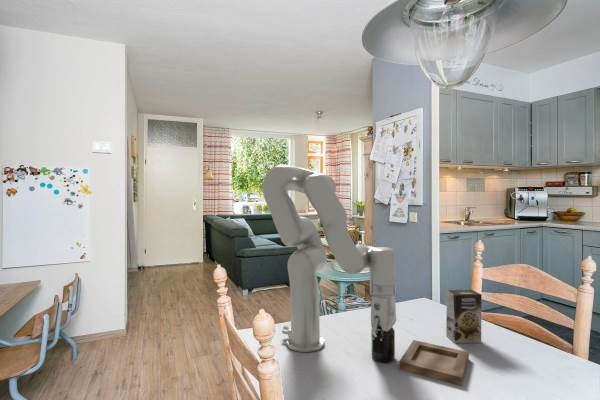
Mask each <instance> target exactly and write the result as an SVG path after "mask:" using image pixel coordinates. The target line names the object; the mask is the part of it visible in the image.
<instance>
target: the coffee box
mask: <svg viewBox="0 0 600 400" xmlns="http://www.w3.org/2000/svg"><path fill="white" fill-rule="evenodd" d="M482 296H483V295H482V294H481V293H479V292H477V291H475V290H473V289H446V319H445V320H446V321H445V322H446V337H447V338H449V340H450V341H451V342H453V344H481V343H482Z"/></svg>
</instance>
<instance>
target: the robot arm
mask: <svg viewBox="0 0 600 400" xmlns="http://www.w3.org/2000/svg"><path fill="white" fill-rule="evenodd" d="M261 189H262V195H263V197H264V200H265V203H266V205H267V208H268V210H269V212H270V215H271V217H272V220H273V223H274V226H275V228H276V230H277V231H276V232H277V233H278V236H279V238H280V241H281V242H282V243H283V244H284V245H285V246H287V247H290V248H291V247H296V248H297V250H295V251H294V252H292V253H291V255H290V256H289V258H288V261H287V273H288V281H289V289H290V290H289V292H290V293H289V295H290V298H289V299H290V326H289V325H283V327H282V331H281V333H282V334H284V335H287V336H288V337H287V338H286V341H285V342H286V346H287V347H288V348H289V350H292V351H295V352H300V353H310V352H311V353H312V352H315V351H319V350H320V349H322V348H323V347H324V346H325V345H326V344H325V342H326V341H325V338H324V337H323V336H322V335H320V332H321V331H320V330H321V329H320V323H321V322H320V320H321V319H320V286H319V281H318V274H317V273H319V272H321V270H323V269H324V268H325V267H326V265H327V261H328V255H327V251H326V248H325V245H324V244H323V241H322V239H321V236H320V235H319V231H318V229H317V227H316V225H315V224H314V222H313V221H312V220H311V219H310V218H308V217H306V216H300V215H299V213H298V211H297V208H296V205H295V203H294V201H293V200H292V198H291V197H290V195H289V193H288V191H293V192H294V191H295V192H298V193H302V194H304V195H305V196H306V198H307V200H308V201H309V203H310V205H311V206H312V208H313V210H314V213H316V215H317V217H318V219H319V220H320V222H321V223H320V224H322V227H323V233H324V236H325V239H326V243H327V245H328V248H329V250H330V252H331V254H332V256H333V257H334V259H335V261H336V262H337V264H338V265H339V267H340V269H342V271H343V272H345V273H346V274H348V275H352V276H353V275H358V274H360V273H361V272H362V271H364V270H365V269H369V294H370V295H371V304H370V327H371V329H372V334H373V351H374V352H376V353H380V354H384V340H383V336H384V331H385V332H387V331H389V330H390V329H391V327H392V328H393V326H394V325H395V324H396V322H397V309H396V305H397V304H396V294H397V292H396V290H397V288H396V287H397V286H396V285H397V284H396V251H395V249H393V248H391V247H388V246H376V247H375V246H369V245H364V244H355V242H354V240H353V238H352V237H351V234H350V232H349V229H348V225H347V224H348V222H347V221H348V220H347V219H348V217H347V216H348V214H347V211H346V209H345V207H344V206H343V204H342V202H341V201H340V199H339V197H338V196H337V194H336V190H337V185H336V182H335V180H334V179H333V177H331V176H330V175H328V174H324V173H320V172H318V171H313V170H310V169H306V168H303V167H300V166H293V165H288V164H287V165H286V164H279V165H274V166H273V167H271V168H270V169H269V170H268V171H267V172H266V173H265V175H264V177H263V181H262V188H261ZM378 327H381V328H382V329H379V328H378ZM393 329H394V328H393ZM378 331H381V336H380V334H379V333H378Z"/></svg>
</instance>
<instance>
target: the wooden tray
mask: <svg viewBox="0 0 600 400" xmlns="http://www.w3.org/2000/svg"><path fill="white" fill-rule="evenodd" d="M469 357H470V352H469V351H467V350H461V349H457V348H452V347H448V346H443V345H438V344H434V343H430V342H429V343H428V342H426V341H425V342H424V341H419V340H416V339H413V340H412V342H411V343H410V345H409V346H408V347H407V349H406V350H405V352H404V354H403V355H402V356H401V358H400V360H399V361H398V369H399V370H401V371H405V372H408V373H412V374H416V375H420V376H423V377H427V378H431V379H435V380H439V381H442V382H445V383H446V382H447V383H449V384H454V385H457V386H460V385H461V387H462V386H463V382H464V378H465V374H466V370H467V367H468V364H469V360H470V359H469Z"/></svg>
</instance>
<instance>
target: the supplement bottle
mask: <svg viewBox="0 0 600 400" xmlns="http://www.w3.org/2000/svg"><path fill="white" fill-rule="evenodd" d="M392 327H393V326H392ZM392 327H391V329H390V330H389V331H387V332H385V331H384V336H383V340H384V354H380V353H376V352H374V351H373V334H372V328H370V329H371V330H370V331H371V334H370V335H371V346H370V347H371V357H372V359H374V361H376V362H378V363H383V364H387V363H392V362H393V361H394V360H395V357H396V348H395V347H396V343H395V342H396V340H395V339H396V333H395V329H394V328H392ZM378 328H379V329H382V328H381V327H378ZM378 333H379V334H380V336H381V331H378Z"/></svg>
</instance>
